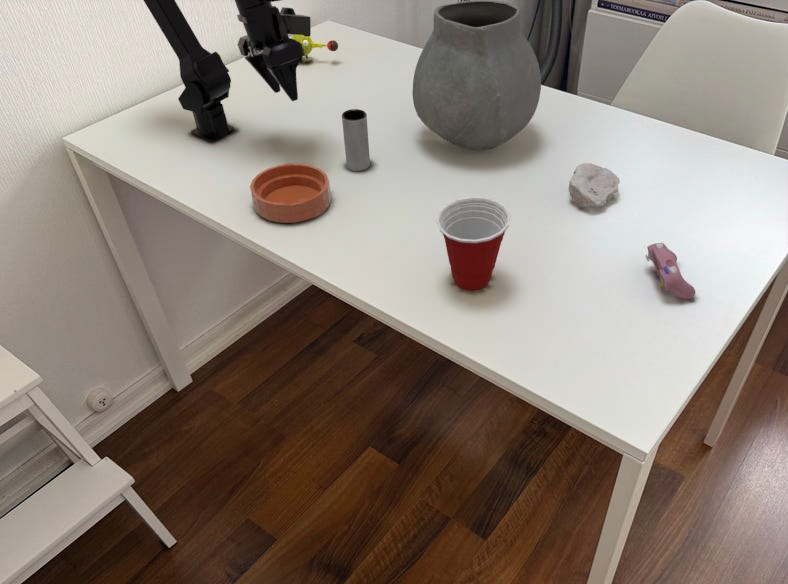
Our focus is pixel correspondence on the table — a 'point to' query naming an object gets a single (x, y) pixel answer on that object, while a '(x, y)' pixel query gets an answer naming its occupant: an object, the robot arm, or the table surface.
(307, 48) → the toy figure
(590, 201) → the pale grey lumpy chunk
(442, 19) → the ceramic pot
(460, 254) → the plastic cup
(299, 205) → the bowl
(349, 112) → the grey hollow cylinder
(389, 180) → the table surface
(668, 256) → the video game controller
